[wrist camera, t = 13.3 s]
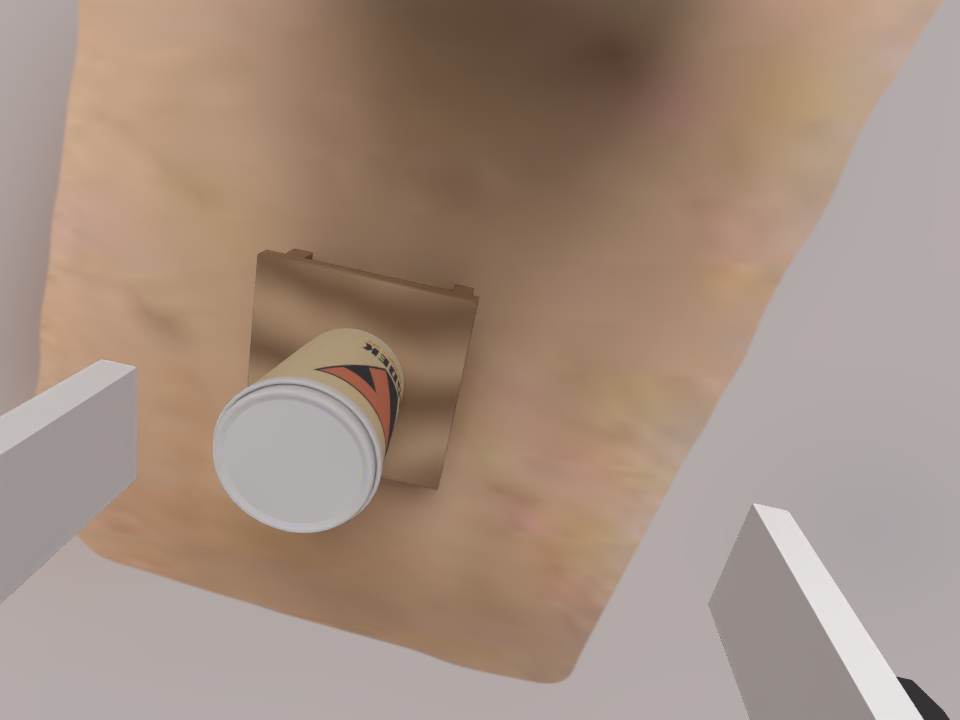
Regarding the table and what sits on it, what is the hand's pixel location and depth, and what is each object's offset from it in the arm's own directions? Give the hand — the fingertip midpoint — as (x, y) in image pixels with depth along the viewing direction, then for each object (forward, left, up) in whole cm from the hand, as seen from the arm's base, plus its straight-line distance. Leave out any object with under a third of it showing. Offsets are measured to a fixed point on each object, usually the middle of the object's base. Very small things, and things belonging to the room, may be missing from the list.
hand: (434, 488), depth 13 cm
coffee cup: (+12, -8, -29) cm, 33 cm away
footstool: (+12, -8, -35) cm, 38 cm away
